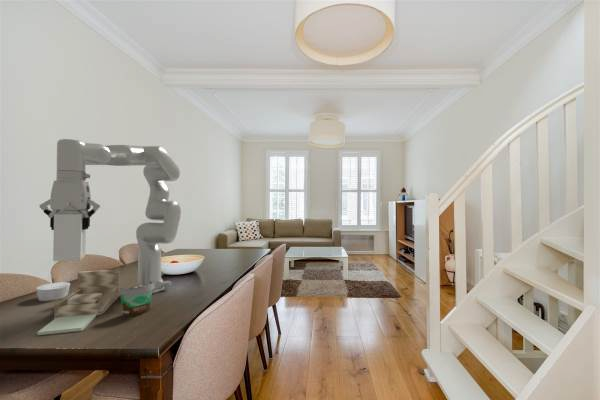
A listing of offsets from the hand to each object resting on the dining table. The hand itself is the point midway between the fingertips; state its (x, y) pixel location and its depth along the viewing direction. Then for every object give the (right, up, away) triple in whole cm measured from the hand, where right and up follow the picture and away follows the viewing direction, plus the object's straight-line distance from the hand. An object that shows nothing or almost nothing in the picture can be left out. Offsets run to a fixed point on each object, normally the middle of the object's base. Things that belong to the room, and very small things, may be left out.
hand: (70, 229), depth 95 cm
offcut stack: (-4, -32, +12) cm, 35 cm away
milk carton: (0, -10, 0) cm, 10 cm away
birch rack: (-5, -32, +16) cm, 36 cm away
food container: (+17, -33, +12) cm, 38 cm away
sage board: (0, -32, 0) cm, 32 cm away
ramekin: (-29, -32, +27) cm, 51 cm away
